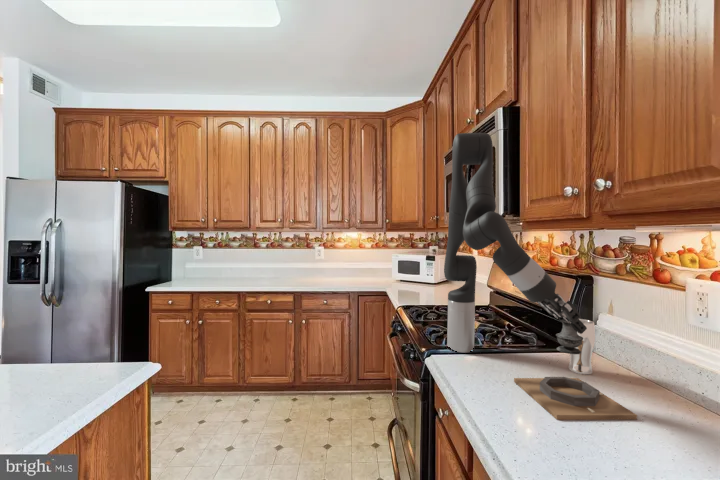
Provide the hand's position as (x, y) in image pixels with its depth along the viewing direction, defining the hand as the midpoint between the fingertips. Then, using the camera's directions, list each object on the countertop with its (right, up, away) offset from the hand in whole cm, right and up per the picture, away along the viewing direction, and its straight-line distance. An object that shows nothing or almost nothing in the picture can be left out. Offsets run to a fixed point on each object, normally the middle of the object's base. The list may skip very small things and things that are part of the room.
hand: (577, 328), depth 87 cm
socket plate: (-2, -17, 0) cm, 18 cm away
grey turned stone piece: (-2, -6, 0) cm, 6 cm away
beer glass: (+12, -18, +19) cm, 28 cm away
